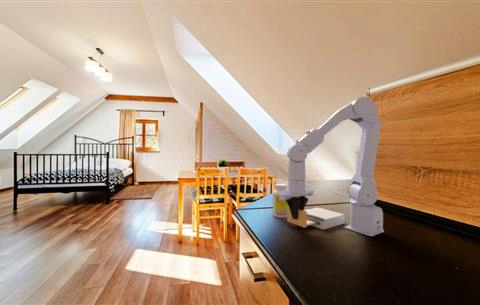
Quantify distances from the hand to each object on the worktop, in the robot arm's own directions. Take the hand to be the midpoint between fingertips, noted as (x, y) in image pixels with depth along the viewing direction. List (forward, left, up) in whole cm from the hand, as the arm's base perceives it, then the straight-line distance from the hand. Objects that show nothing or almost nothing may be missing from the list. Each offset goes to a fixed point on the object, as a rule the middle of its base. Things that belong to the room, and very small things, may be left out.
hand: (296, 218), depth 81 cm
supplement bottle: (+14, -5, -4) cm, 15 cm away
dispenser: (0, -12, -3) cm, 13 cm away
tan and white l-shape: (0, -8, -2) cm, 8 cm away
